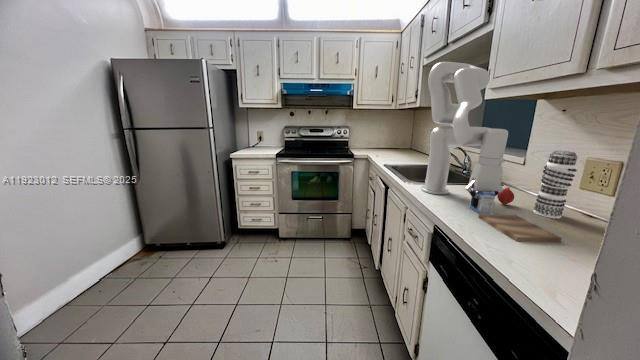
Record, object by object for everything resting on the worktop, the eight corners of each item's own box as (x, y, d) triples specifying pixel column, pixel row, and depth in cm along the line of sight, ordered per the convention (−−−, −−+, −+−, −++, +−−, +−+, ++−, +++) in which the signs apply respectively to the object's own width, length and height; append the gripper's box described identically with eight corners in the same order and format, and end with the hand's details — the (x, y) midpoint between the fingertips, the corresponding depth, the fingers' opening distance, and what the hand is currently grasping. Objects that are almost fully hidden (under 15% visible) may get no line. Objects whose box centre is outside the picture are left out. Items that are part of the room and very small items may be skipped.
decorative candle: (555, 212, 102) (573, 150, 96) (567, 220, 94) (588, 154, 87) (528, 208, 105) (543, 149, 99) (537, 216, 97) (555, 152, 91)
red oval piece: (496, 205, 108) (500, 187, 106) (494, 201, 113) (498, 184, 111) (513, 208, 105) (517, 189, 103) (510, 204, 110) (515, 186, 108)
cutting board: (478, 217, 94) (479, 213, 93) (514, 218, 94) (515, 214, 94) (516, 241, 76) (517, 237, 76) (560, 242, 77) (562, 237, 76)
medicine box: (468, 207, 105) (472, 187, 102) (479, 207, 104) (483, 187, 102) (479, 214, 97) (484, 193, 95) (491, 215, 97) (496, 193, 95)
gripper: (504, 160, 99) (494, 204, 104) (462, 159, 99) (454, 203, 104) (519, 164, 92) (508, 210, 97) (474, 163, 92) (465, 209, 96)
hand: (480, 206), depth 100 cm, fingers closed on medicine box, 4 cm apart
